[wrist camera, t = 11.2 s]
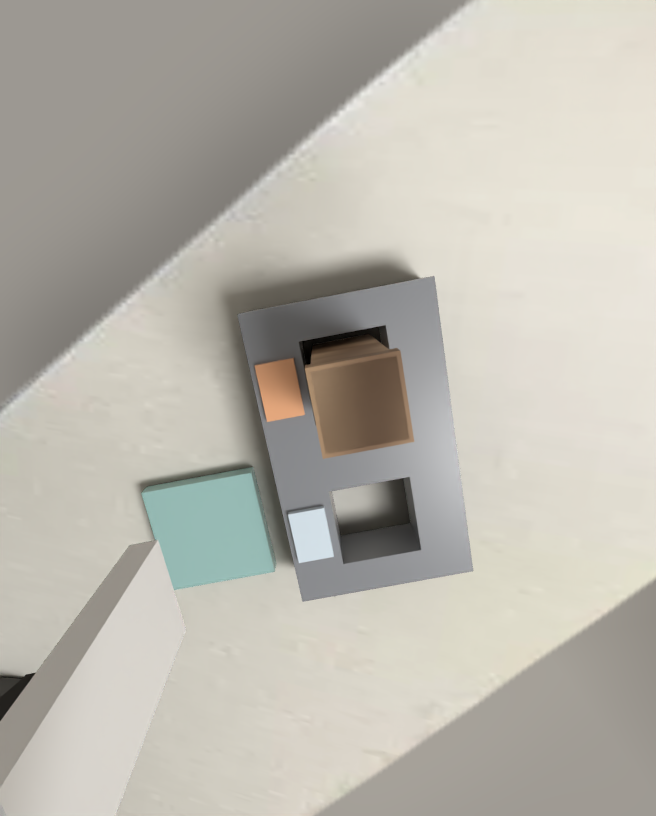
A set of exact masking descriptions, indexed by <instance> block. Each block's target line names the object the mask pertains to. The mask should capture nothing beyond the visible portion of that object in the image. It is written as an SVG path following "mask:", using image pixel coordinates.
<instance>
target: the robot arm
mask: <svg viewBox="0 0 656 816" xmlns="http://www.w3.org/2000/svg"><path fill="white" fill-rule="evenodd" d="M185 632H186V627H185V624H184V621H183V617H182V614H181V611H180V608H179V605H178V601H177V598H176V595H175V592H174V589H173V586H172V582H171V579H170V576H169V573H168V570H167V566H166V563H165V560H164V557H163V554H162V551H161V547H160V544H159V541H158V540H154V541H149V542H144V543H139V544H134V545H129V547H128V548H127V550H126V551H125V552H124V554H123V555H122V556H121V558H120V559H119V560H118V562H117V563H116V564H115V566H114V567H113V569H112V570H111V571H110V573H109V574H108V575H107V577H106V578H105V579H104V581H103V582H102V584H101V585H100V586H99V588H98V589H97V590H96V592H95V593H94V594H93V596H92V597H91V598H90V600H89V601H88V603H87V604H86V605H85V607H84V608H83V609H82V611H81V612H80V613H79V615H78V616H77V618H76V619H75V620H74V622H73V623H72V624H71V626H70V627H69V628H68V630H67V631H66V633H65V634H64V635H63V637H62V638H61V639H60V641H59V642H58V643H57V645H56V646H55V647H54V649H53V650H52V652H51V653H50V654H49V656H48V657H47V658H46V660H45V661H44V662H43V664H42V665H41V667H40V668H39V669H38V671H37V672H36V673H32V674H27V675H25V676H24V677H23V678H22V679H17V678H0V816H116V813H117V810H118V808H119V805H120V803H121V800H122V797H123V795H124V792H125V789H126V787H127V784H128V781H129V779H130V776H131V774H132V771H133V768H134V766H135V763H136V760H137V758H138V755H139V753H140V750H141V747H142V745H143V742H144V739H145V737H146V734H147V731H148V729H149V726H150V724H151V721H152V718H153V716H154V713H155V710H156V708H157V705H158V703H159V700H160V697H161V695H162V692H163V689H164V687H165V684H166V682H167V679H168V676H169V674H170V671H171V668H172V666H173V663H174V660H175V658H176V655H177V653H178V650H179V647H180V645H181V642H182V639H183V637H184V634H185Z"/></svg>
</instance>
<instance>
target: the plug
mask: <svg viewBox="0 0 656 816" xmlns="http://www.w3.org/2000/svg"><path fill="white" fill-rule="evenodd" d="M305 372H306V377H307V382H308V387H309V392H310V397H311V402H312V407H313V412H314V417H315V422H316V427H317V432H318V437H319V442H320V447H321V452H322V457H323V459H325V458H331V457H336V456H341V455H347V454H352V453H358V452H363V451H368V450H374V449H379V448H384V447H390V446H395V445H401V444H406V443H411V442H414V436H413V429H412V423H411V416H410V410H409V403H408V397H407V390H406V383H405V377H404V370H403V364H402V357H401V351H400V350H399V349H398V348H394V349H388V348H387V347H385V346H384V345H383V344H381V343H380V342H379V341H378V340H376V339H375V338H374V337H373V336H371V335H370V334H365V335H360V336H355V337H350V338H344V339H339V340H334V341H329V342H323V343H318V344H313V345H312V354H311V364H310V365H305Z"/></svg>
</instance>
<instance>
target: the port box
mask: <svg viewBox="0 0 656 816" xmlns="http://www.w3.org/2000/svg"><path fill="white" fill-rule="evenodd" d="M237 316H238V320H239V324H240V329H241V333H242V338H243V342H244V346H245V351H246V355H247V360H248V364H249V368H250V373H251V377H252V382H253V386H254V390H255V395H256V399H257V404H258V408H259V412H260V417H261V421H262V426H263V430H264V434H265V439H266V443H267V447H268V452H269V456H270V461H271V465H272V469H273V474H274V478H275V483H276V487H277V491H278V496H279V500H280V505H281V509H282V513H283V518H284V522H285V527H286V531H287V535H288V540H289V544H290V549H291V553H292V557H293V562H294V566H295V571H296V575H297V579H298V584H299V588H300V593H301V597H302V601H303V602H304V601H309V600H315V599H320V598H326V597H331V596H337V595H343V594H348V593H354V592H359V591H365V590H370V589H376V588H382V587H387V586H393V585H398V584H404V583H410V582H415V581H421V580H426V579H432V578H437V577H443V576H449V575H454V574H460V573H465V572H471V571H473V566H472V558H471V551H470V543H469V536H468V528H467V520H466V513H465V505H464V498H463V490H462V482H461V475H460V467H459V460H458V452H457V445H456V437H455V429H454V422H453V414H452V407H451V399H450V391H449V384H448V376H447V369H446V361H445V354H444V346H443V338H442V331H441V323H440V316H439V308H438V300H437V293H436V285H435V278H434V276H432V277H425V278H419V279H414V280H408V281H403V282H398V283H393V284H388V285H382V286H377V287H372V288H367V289H362V290H356V291H351V292H346V293H341V294H336V295H331V296H325V297H320V298H315V299H310V300H305V301H299V302H294V303H289V304H284V305H279V306H274V307H268V308H263V309H258V310H253V311H248V312H244V313H240V314H237ZM378 326H379V332H380V338H381V344H383V345H384V346H385V347H387V348H388V349H394V348H398V349H399V350H400V351H401V357H402V364H403V370H404V377H405V383H406V390H407V397H408V403H409V410H410V416H411V423H412V429H413V436H414V442H411V443H406V444H401V445H395V446H390V447H384V448H379V449H374V450H368V451H363V452H358V453H352V454H347V455H341V456H336V457H331V458H325V459H323V457H322V452H321V447H320V442H319V437H318V432H317V427H316V422H315V417H314V412H313V407H312V402H311V397H310V392H309V387H308V382H307V377H306V372H305V365H306V360H305V355H304V350H303V345H302V341H305V340H310V339H315V338H320V337H326V336H331V335H336V334H341V333H346V332H352V331H357V330H362V329H367V328H373V327H378ZM401 478H403V480H404V487H405V493H406V499H407V505H408V511H409V518H410V523H408V524H402V525H397V526H391V527H386V528H380V529H375V530H369V531H364V532H358V533H353V534H347V535H342V536H341V535H340V530H339V525H338V520H337V515H336V510H335V505H334V500H333V495H332V491H335V490H341V489H346V488H352V487H357V486H362V485H368V484H373V483H379V482H384V481H390V480H395V479H401Z"/></svg>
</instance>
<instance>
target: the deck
mask: <svg viewBox="0 0 656 816" xmlns="http://www.w3.org/2000/svg"><path fill="white" fill-rule="evenodd" d="M141 494H142V497H143V500H144V504H145V507H146V510H147V514H148V517H149V521H150V524H151V527H152V531H153V534H154V537H155V540H158V541H159V544H160V547H161V551H162V554H163V557H164V560H165V563H166V566H167V570H168V573H169V576H170V579H171V582H172V586H173V589H174V590H177V589H182V588H188V587H193V586H199V585H204V584H210V583H215V582H221V581H226V580H232V579H237V578H243V577H248V576H254V575H259V574H265V573H270V572H275V567H276V561H275V556H274V552H273V548H272V544H271V539H270V535H269V531H268V527H267V523H266V518H265V514H264V510H263V506H262V501H261V497H260V493H259V489H258V485H257V480H256V476H255V472H254V468H253V467H250V468H245V469H239V470H234V471H228V472H223V473H218V474H212V475H207V476H202V477H196V478H191V479H185V480H180V481H175V482H169V483H164V484H159V485H153V486H148V487H146V488H145V490H144V491H143V492H142V493H141Z"/></svg>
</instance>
